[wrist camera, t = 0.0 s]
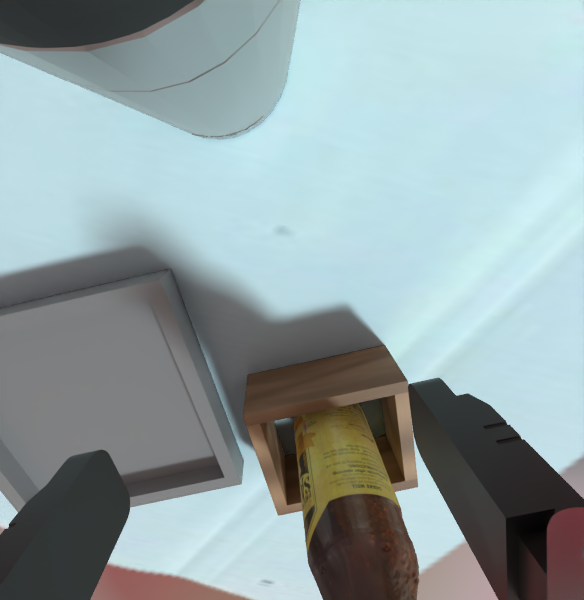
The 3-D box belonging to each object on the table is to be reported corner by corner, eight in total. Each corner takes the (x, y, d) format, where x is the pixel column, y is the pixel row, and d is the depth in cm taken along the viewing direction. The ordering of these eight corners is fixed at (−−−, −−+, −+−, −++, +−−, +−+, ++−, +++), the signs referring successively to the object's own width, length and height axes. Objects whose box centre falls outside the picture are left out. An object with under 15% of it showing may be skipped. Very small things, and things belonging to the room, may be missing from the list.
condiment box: (247, 375, 28) (242, 416, 23) (384, 345, 28) (407, 380, 23) (277, 465, 32) (278, 515, 28) (396, 440, 32) (418, 486, 27)
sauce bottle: (281, 394, 29) (298, 786, 11) (347, 370, 28) (485, 740, 10) (308, 445, 31) (358, 835, 13) (369, 423, 31) (512, 800, 12)
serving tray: (-83, 327, 25) (-120, 343, 22) (170, 268, 24) (159, 279, 22) (48, 502, 32) (31, 528, 30) (243, 460, 32) (241, 484, 29)
